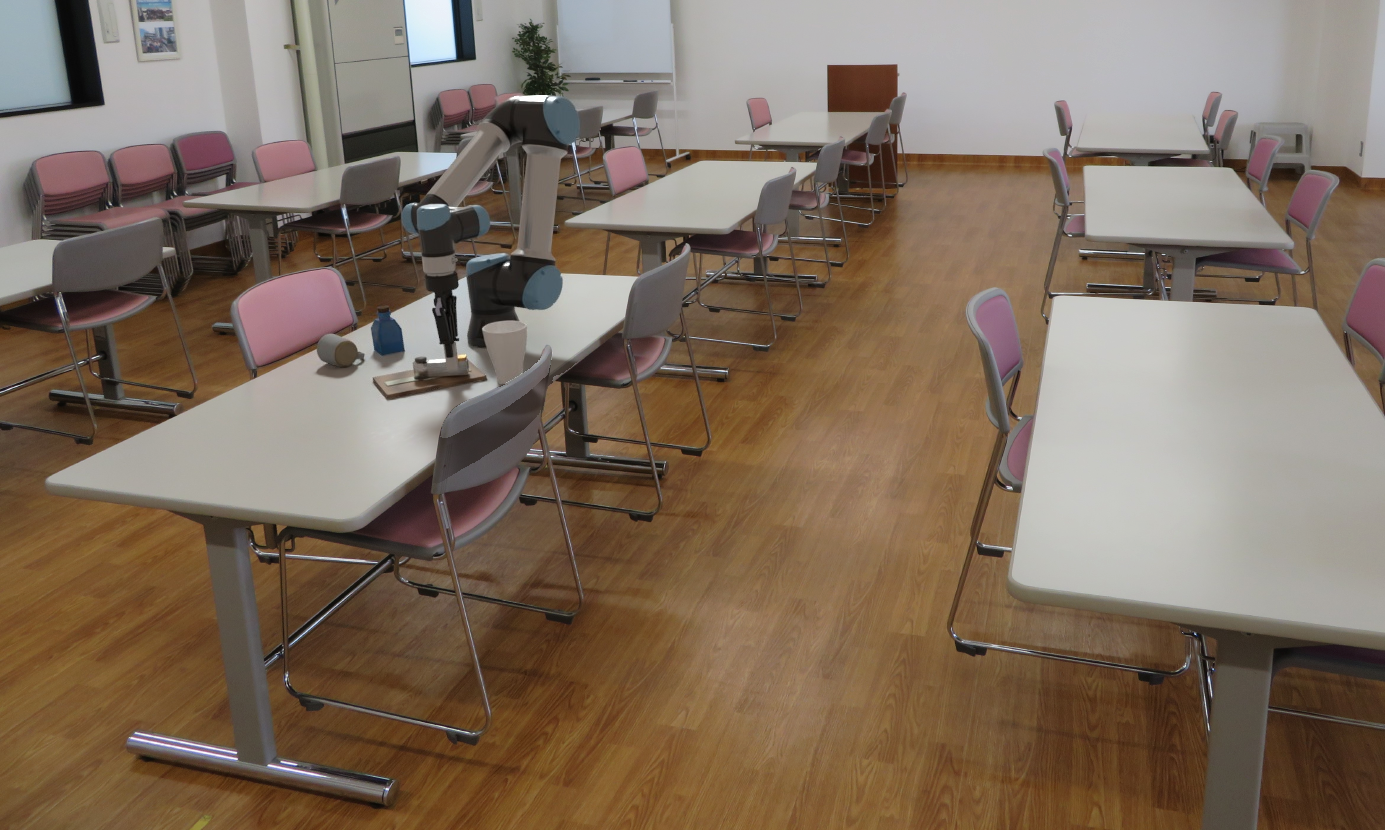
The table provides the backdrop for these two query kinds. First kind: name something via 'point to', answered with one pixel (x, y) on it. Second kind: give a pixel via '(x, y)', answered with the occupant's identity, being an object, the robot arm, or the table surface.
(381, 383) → the lock board
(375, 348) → the perfume bottle
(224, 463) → the table surface
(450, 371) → the swing bar
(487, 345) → the cup
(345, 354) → the ceramic mug
